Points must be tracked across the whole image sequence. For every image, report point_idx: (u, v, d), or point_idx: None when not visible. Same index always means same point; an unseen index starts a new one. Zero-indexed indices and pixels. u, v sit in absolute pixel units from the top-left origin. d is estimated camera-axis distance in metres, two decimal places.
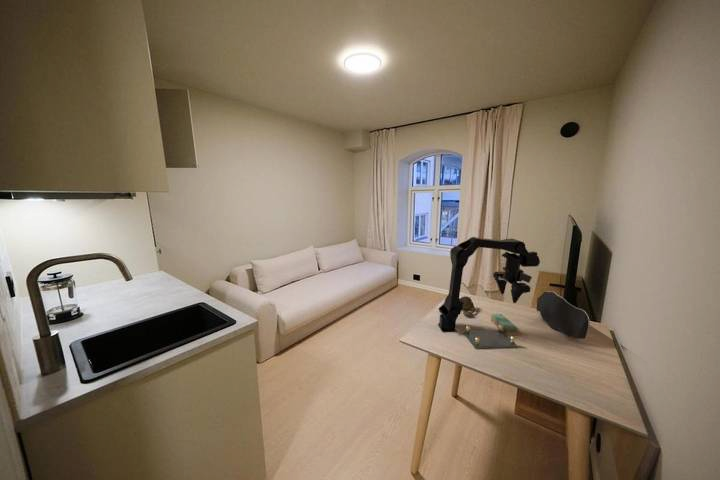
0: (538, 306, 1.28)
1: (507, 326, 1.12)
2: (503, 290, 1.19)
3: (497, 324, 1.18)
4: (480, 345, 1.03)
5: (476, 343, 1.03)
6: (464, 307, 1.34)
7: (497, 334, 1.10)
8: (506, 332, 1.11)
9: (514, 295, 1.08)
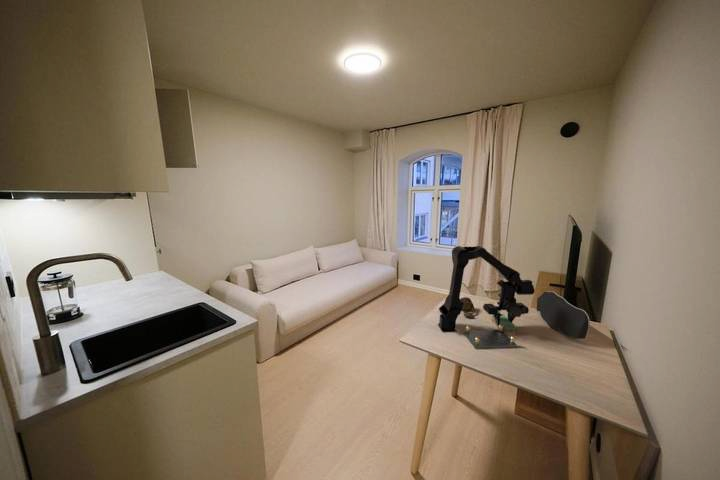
0: (538, 306, 1.28)
1: (506, 325, 1.12)
2: None
3: None
4: (480, 345, 1.03)
5: (476, 343, 1.03)
6: (464, 308, 1.33)
7: (497, 334, 1.10)
8: (505, 331, 1.12)
9: (493, 314, 1.18)
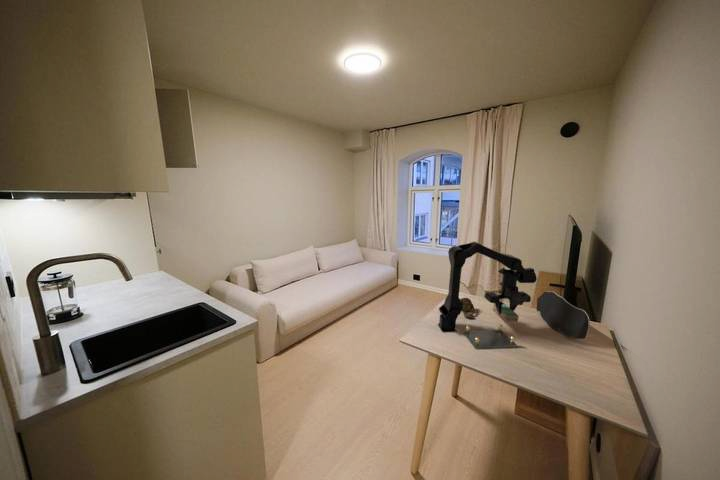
0: (538, 306, 1.28)
1: (508, 314, 1.11)
2: None
3: None
4: (480, 345, 1.03)
5: (476, 343, 1.03)
6: (464, 308, 1.33)
7: (497, 334, 1.10)
8: (507, 320, 1.10)
9: (495, 303, 1.16)
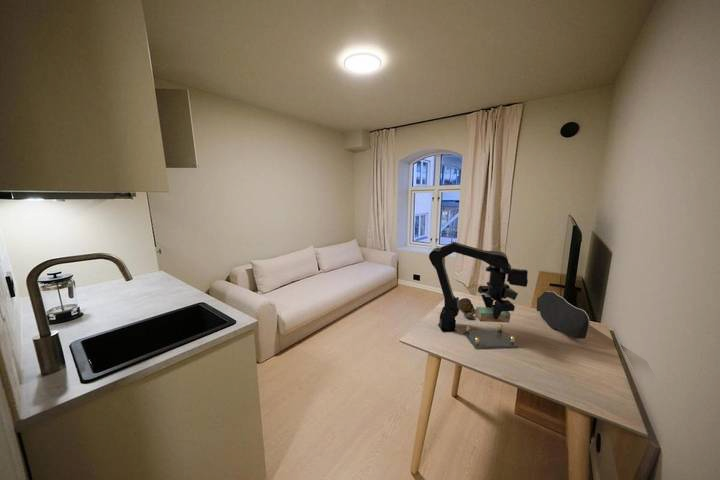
0: (538, 306, 1.28)
1: (506, 312, 1.05)
2: None
3: (493, 318, 1.04)
4: (480, 345, 1.03)
5: (476, 343, 1.03)
6: (464, 309, 1.32)
7: (497, 334, 1.10)
8: None
9: (495, 311, 1.02)
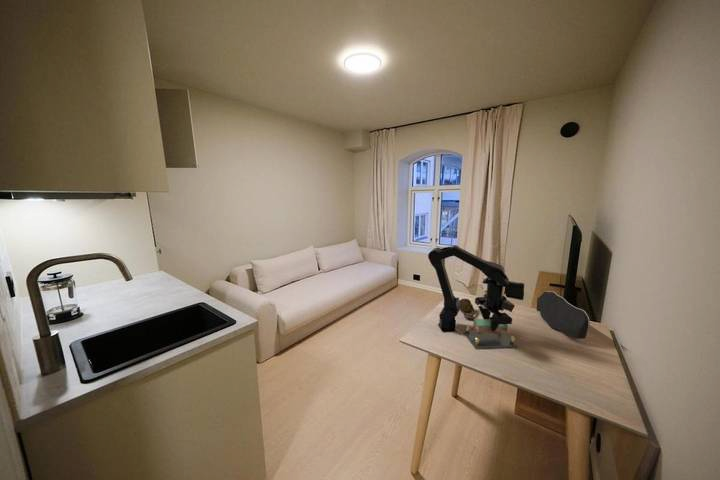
0: (538, 306, 1.28)
1: (503, 324, 1.05)
2: None
3: (491, 330, 1.05)
4: (480, 345, 1.03)
5: (476, 343, 1.03)
6: (464, 309, 1.31)
7: (497, 334, 1.10)
8: None
9: (492, 323, 1.02)
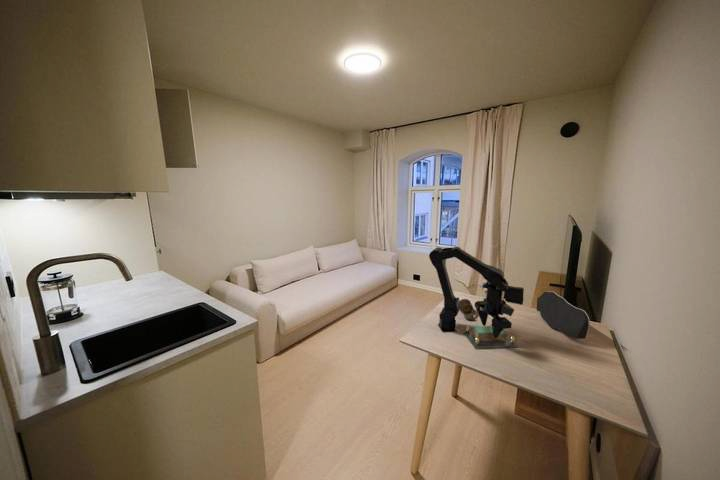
0: (538, 306, 1.28)
1: (502, 331, 1.06)
2: (484, 322, 1.11)
3: (490, 337, 1.05)
4: (480, 345, 1.03)
5: (476, 343, 1.03)
6: (464, 310, 1.31)
7: None
8: None
9: (495, 330, 1.01)
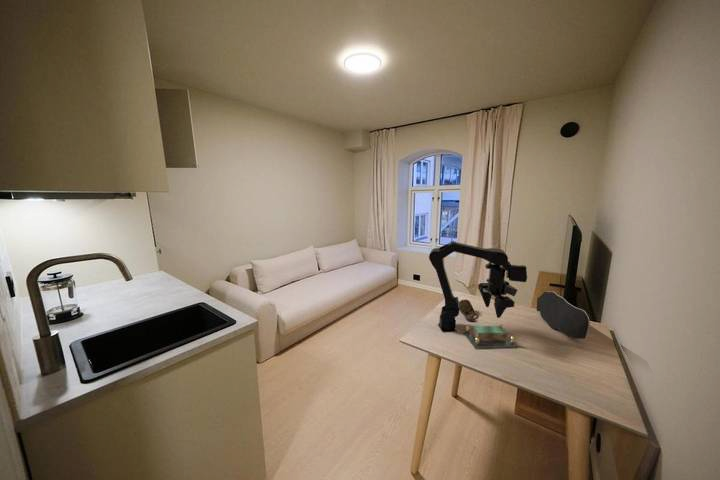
0: (538, 306, 1.28)
1: (502, 331, 1.06)
2: (488, 303, 1.12)
3: (490, 337, 1.05)
4: (480, 345, 1.03)
5: (476, 343, 1.03)
6: (464, 311, 1.30)
7: None
8: None
9: (497, 309, 1.01)
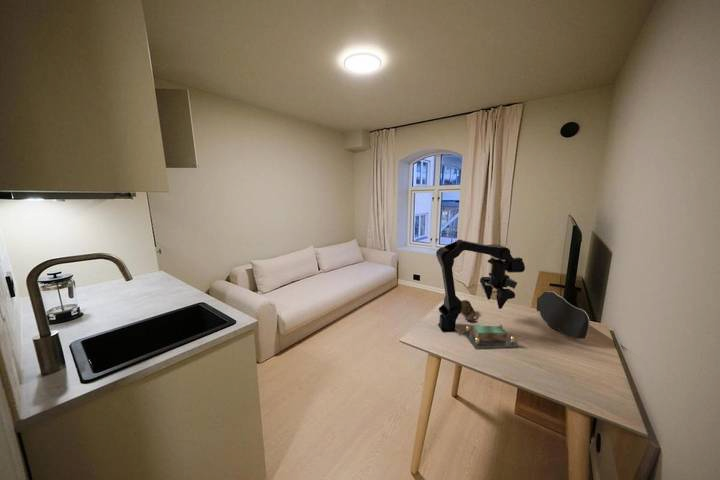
0: (538, 306, 1.28)
1: (502, 331, 1.06)
2: (489, 296, 1.20)
3: (490, 337, 1.05)
4: (480, 345, 1.03)
5: (476, 343, 1.03)
6: (464, 311, 1.30)
7: None
8: None
9: (499, 301, 1.09)
